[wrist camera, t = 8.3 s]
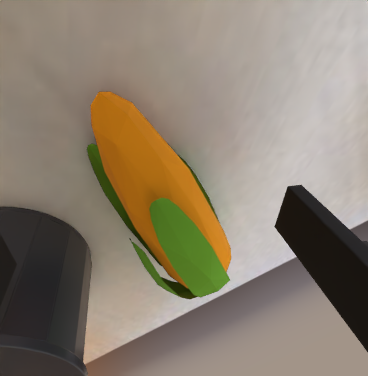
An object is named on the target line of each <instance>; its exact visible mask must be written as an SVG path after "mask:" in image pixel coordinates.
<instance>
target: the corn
mask: <svg viewBox="0 0 368 376" xmlns="http://www.w3.org/2000/svg"><path fill="white" fill-rule="evenodd" d="M91 125H92V128H93V132H94V135H95V139H96V143H97V145H95V144H90V145H88V147H87V152H88V156H89V159H90V162H91V165H92V167H93V170H94V172H95V174H96V176H97V179H98V181H99V183H100V185H101V187H102V189H103V191H104V193H105V195H106V196H107V198H108V199H109V201H110V202H111V203H112V205H113V206H114V208H115V209H116V211H117V212H118V214H119V215H120V217H121V218H122V220H123V221H124V223H125V224H126V225H127V227H128V228H129V229H130V230H131V231H132V233H133V234H134V235H135V236H136V237H137V238H138V240H139V241H140V242H141V243H142V244H143V246H144V247H145V248H146V249H147V250H148V252H149V253H150V254H151V255H152V256H153V258H154V259H155V260H156V261H157V262H158V263H159V265H161V266H163V268H164V269H165V270H166V272H167V273H168V275H169V276H170V277H172V278H173V279H175V280H176V281H177V282H173V281H170V280H167V279H165V278H162V277H160V275H159V274H158V272H157V271H156V269H155V268H154V266H153V265H152V263H151V262H150V260H149V259H148V257H147V255H146V254H145V252H144V251H143V250H142V249H140V248H139V247H138V246H137V245H136V244H135V243H133V242H132V241H131V242H132V244H133V246H134V248H135V250H136V252H137V254H138V256H139V258H140V260H141V261H142V263H143V265H144V267H145V268H146V270H147V271H148V272H149V274H150V275H151V276H152V278H153V279H154V280H155V282H156V283H157V284H158V285H159V286H161V287H162V288H164V289H165V290H167V291H169V292H171V293H173V294H175V295H177V296H179V297H182V298H186V299H192V298H195V297H203V296H206V295H209V294H211V293H214V292H217V291H219V290H220V289H221V288H222V287H223V286H224V285H225V284H226V283H227V282H228V281H230V279H229V277H228V275H227V273H226V272H227V269H228V266H229V263H230V261H231V248H230V245H229V243H228V240H227V238H226V235H225V233H224V231H223V229H222V227H221V225H220V223H219V221H218V218H217V216H216V214H215V211H214V209H213V207H212V204H211V202H210V199H209V197H208V196H207V194H206V192H205V190H204V189H203V187H202V185H201V184H200V182H199V180H198V178H197V177H196V175H195V174H194V172H193V171H192V170H191V168H190V167H189V166H188V164H187V163H186V162H185V161H184V160H183V159H182V158H181V157H180V156H178V155H177V154H176V153H175V152H174V151H173V150H172V148H171V147H170V146H169V145H168V144H167V143H166V142H165V140H164V139H163V138H162V137H161V136H160V135H159V133H158V132H157V131H156V130H155V129H154V128H153V127H152V125H151V124H150V123H149V122H148V121H147V120H146V118H145V117H144V116H143V115H142V114H141V113H140V112H139V110H138V109H137V108H136V107H135V106H134V105H133V103H132V102H130V101H128V100H126V99H124V98H122V97H120V96H118V95H116V94H114V93H112V92H99V93H98V94H97V96H96V97H95V99H94V101H93V102H92V104H91ZM130 240H131V239H130Z"/></svg>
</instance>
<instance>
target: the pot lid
mask: <svg viewBox="0 0 368 376" xmlns="http://www.w3.org/2000/svg"><path fill="white" fill-rule="evenodd" d="M87 375H88V373H87V370H86V366H85V364H84V363H83V361H82V360H81V359H80V358H79V357H78V356H77V355H75V354H74V353H72V352H71V351H69V350H67V349H65V348H63V347H61V346H58V345H56V344H53V343H50V342H47V341H44V340H39V339H35V338H30V337H25V336H18V335H11V334H0V376H87Z"/></svg>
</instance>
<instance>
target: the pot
mask: <svg viewBox="0 0 368 376" xmlns="http://www.w3.org/2000/svg"><path fill="white" fill-rule="evenodd" d="M0 234H1V236H2V238H3V239H4V241H5V243H6V245H7V247H8V249H9V250H10V252H11V254H12V256H13V258H14V259H15V261H16V263H17V265H16V268H15V271H14V273H13V276H12V278H11V281H10V283H9V286H8V288H7V291H6V294H5V296H4V299H3V301H2V304H1V306H0V334H11V335H18V336H25V337H30V338H35V339H39V340H44V341H47V342H50V343H53V344H56V345H58V346H61V347H63V348H65V349H67V350H69V351H71V352H72V353H74V354H75V355H77V356H78V357H79V358H80V359H81V360H82V361H83V355H84V344H85V333H86V322H87V311H88V299H89V288H90V277H91V266H92V263H91V255H90V250H89V247H88V245H87V243H86V242H85V240H84V239H83V237H82V236H81V235H80V234H79V233H78V232H77V231H76V230H75V229H74V228H72V227H71V226H69V225H68V224H67V223H65V222H63V221H61V220H59V219H57V218H55V217H52V216H50V215H48V214H44V213H41V212H38V211H33V210H28V209H22V208H11V207H0Z"/></svg>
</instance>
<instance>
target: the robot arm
mask: <svg viewBox="0 0 368 376" xmlns="http://www.w3.org/2000/svg"><path fill="white" fill-rule="evenodd" d="M275 228H276V229H277V231H278V232H279V233H280V235H281V236H282V237H283V239H284V240H285V241H286V243H287V244H288V245H289V247H290V248H291V249H292V251H293V252H294V253H295V255H296V256H297V258H298V259H299V260H300V261H301V262H302V264H303V266H304V267H305V268H306V269H307V271H308V272H309V274H310V275H311V276H312V278H313V279H314V280H315V282H316V283H317V284H318V286H319V287H320V288H321V290H322V291H323V293H324V294H325V295H326V297H327V298H328V299H329V301H330V302H331V303H332V305H333V306H334V307H335V308H336V310H337V311H338V312H339V314H340V315H341V317H342V318H343V319H344V321H345V322H346V324H347V325H348V326H349V327H350V329H351V330H352V332H353V333H354V334H355V335H356V337H357V338H358V340H359V341H360V342H361V344H362V345H363V346H364V348H365V349H366V350H367V352H368V242H367V241H361V240H360V239H359V238H358V237H357V236H356V235H355V234H353V233H352V232H351V231H350V230H349V229H348V228H347V227H346V226H345V225H344V224H343V223H342V222H341V221H340V220H338V219H337V218H336V217H335V216H334V215H333V214H332V213H331V212H330V211H329V210H328V209H327V208H326V207H324V206H323V205H322V204H321V203H320V202H319V201H318V200H317V199H316V198H315V197H314V196H313V195H312V194H310V193H309V192H308V191H307V190H306V189H305V188H304V187H303V186H302V185H296V186H288V187H287V190H286V193H285V197H284V200H283V203H282V206H281V209H280V212H279V215H278V218H277V221H276V224H275ZM16 265H17V263H16V261H15V259H14V258H13V256H12V254H11V252H10V250H9V249H8V247H7V245H6V243H5V241H4V239H3V238H2V236H1V234H0V306H1V304H2V301H3V299H4V296H5V294H6V291H7V288H8V286H9V283H10V281H11V278H12V276H13V273H14V271H15V268H16Z"/></svg>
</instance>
